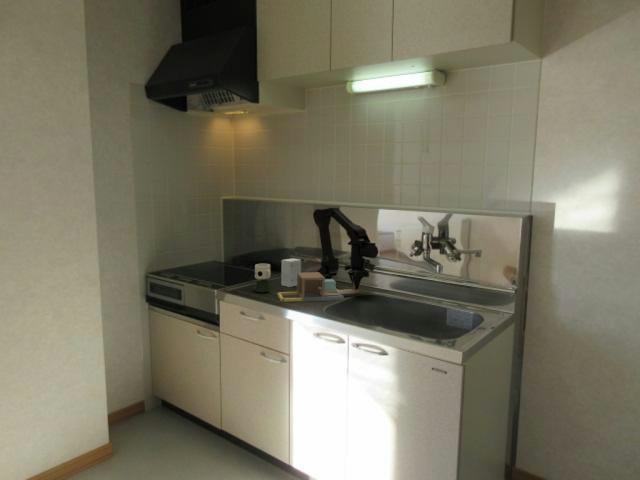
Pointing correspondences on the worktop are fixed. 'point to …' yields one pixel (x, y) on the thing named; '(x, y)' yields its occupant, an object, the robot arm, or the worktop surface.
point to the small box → (290, 271)
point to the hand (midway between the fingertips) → (355, 288)
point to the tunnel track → (308, 289)
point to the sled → (338, 291)
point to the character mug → (262, 277)
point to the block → (330, 285)
